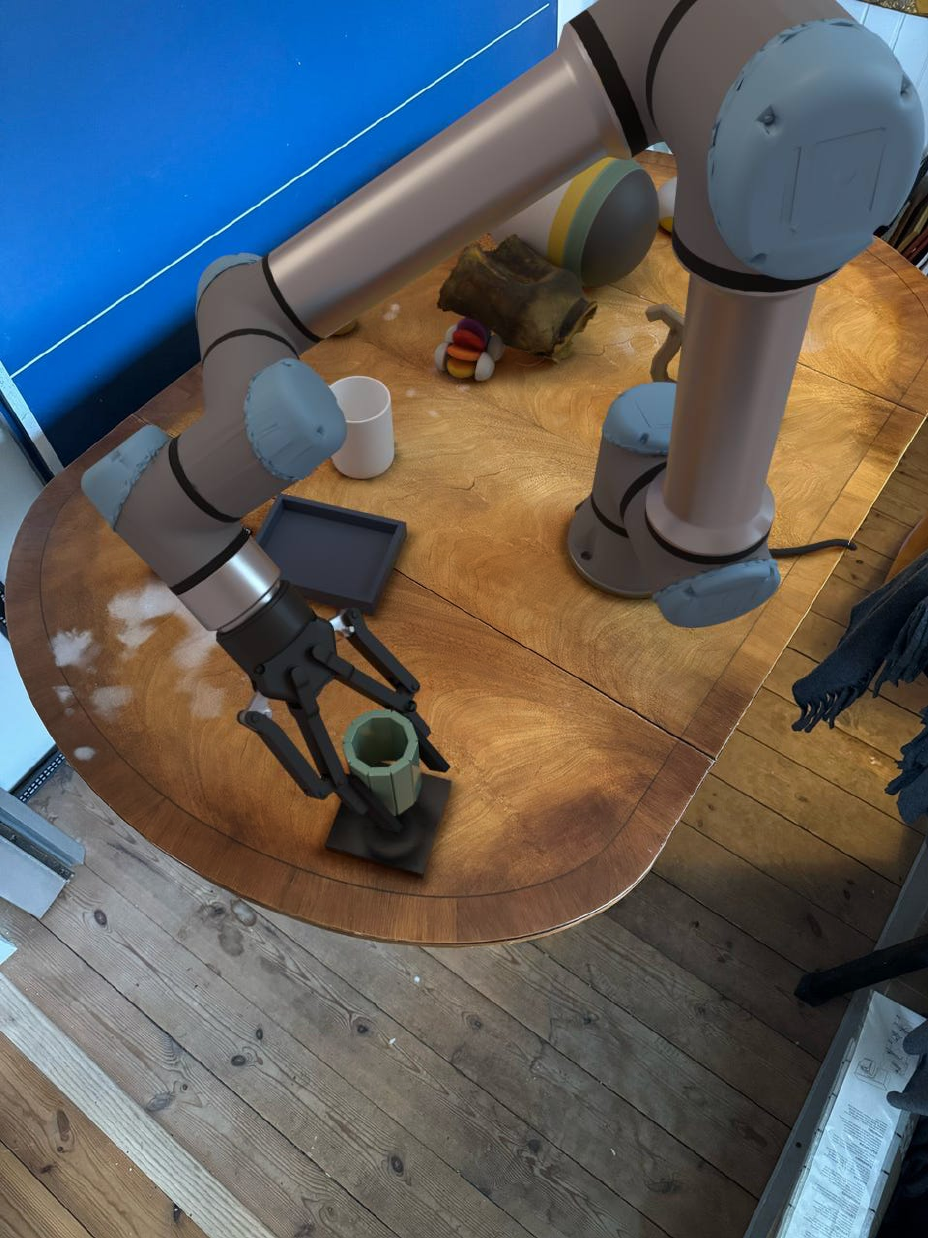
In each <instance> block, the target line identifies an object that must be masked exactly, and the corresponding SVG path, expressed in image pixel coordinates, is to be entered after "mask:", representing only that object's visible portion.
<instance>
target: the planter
mask: <svg viewBox="0 0 928 1238" xmlns="http://www.w3.org/2000/svg"><path fill="white" fill-rule="evenodd" d="M657 191H658V190H657V188H656V186H655V183H654V180H653V179H652V177H651V175H650V174H649V173H648V171H647V170H646V169H645V168H644V167H643V166H642V165H641V163H639V162H638V161H637V160H635V159H634V157H633V158H631V159H630V160H628V161H626V160H621V159H617V158H613V157H607V158H604V159H602V160H600V161H599V162H597V163H596V164H594V165H593V166H591V167H590V168H588V169H587V170H585V171H583V172H582V173H580V174H579V175H577V176H576V177H574V178H573V179H571V180H570V181H568V182H566V183H565V184H563V185H562V186H560V187H559V188H557V189H556V190H554V191H553V192H551V193H549V194H548V195H546V196H545V197H543V198H542V199H540V200H539V201H537V202H536V203H534V204H532V205H531V206H529V207H528V208H526V209H525V210H523V211H522V212H520V213H519V214H517V215H515V216H514V217H512V218H511V219H509V220H508V221H506V222H505V223H503V224H502V225H500V226H498V227H497V228H495V229H494V230H492V231H491V232H489V235H490V238H491V240H492V242H493V243H494V244H495V245H496V246H497V247H498V246H499V244H500V242H502V241H503V240H504V239H505V238H506V237H507V236H508V237H509V236H510V235H513V234H515V235H517V237H518V238H520V240H521V242H522V243H523V244H524V245H525V246H527V247H528V248H529V249H530V250H532V251H533V252H534V253H536V254H537V255H539V256H540V257H542V258H543V259H545V260H546V261H548V262H549V263H551V264H553V265H554V266H556V267H558V268H561V269H568V270H571V271H572V272H573V273H575V275H576V276H577V278H578V280H579V282H580V284H581V286H582V287H587V288H599V287H604V286H609V285H612V284H614V283H616V282H618V281H621V280H622V279H624V278H626V277H628V275H630V274H631V273H632V272H634V271H635V270H636V268H637V267H639V265H640V264H641V263H642V262H643V261H644V259H645V258H646V256H647V254H648V253H649V251H650V250H651V247H652V246H653V243H654V241H655V238H656V235H657V232H658V229H659V224H660V223H659V201H658V195H657Z"/></svg>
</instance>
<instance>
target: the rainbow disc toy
mask: <svg viewBox="0 0 928 1238" xmlns="http://www.w3.org/2000/svg"><path fill="white" fill-rule="evenodd" d="M504 349H505V345H504V344H503V343H502V340H501V337H500V336H498V335H497V334H496V333H495V332H493V333H492V331H491V330H490V329H488V328H487V327H485V326H483V325H482V324H480V323H479V322H477V321H475V320H473V319H470V318H467V317H464V318H462V319H459V321H458V323H457V324H454V325H452V326H450V327H449V328H448V329H447V330H446V333H445V335H444V342H442V343H440V344H438V346H436V349H435V351H434V355H433V360H434V363H435V365H436V367H437V368H438V369H440V370H441V371H443V372H446V371H448V372H449V374H450V375H451V376H453V377H454V378H458V379H465V378H469V377H471V376H473V375H474V379H475V381H477V382H482V381H486V380H488V379H490V378H491V376H492V375H493V373H494V369H495V362H497V361H498V360H499V359H501V357H502V356H503V354H504Z"/></svg>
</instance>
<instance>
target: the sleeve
mask: <svg viewBox="0 0 928 1238" xmlns="http://www.w3.org/2000/svg"><path fill="white" fill-rule="evenodd" d="M341 747H342V752H343V756H344V759H345V763H346V767H347V772H348V774H352V775H357V776H358V777H359V778H360V779H361V780H362V781H363V782H364V783H365V784H366V785H367V787H368V788H369V789H370V790H371V791H372V792H373V793H374V794H375V795H376V797H377V798H378V799H379V800H380V801H381V802H382V803H383V804H384V805H385V807H386V808H387V809H388V810H389V811H390V812H391V813H392V814H393V815H394V816H396V812H397V814H398V815H399V814H401V813H402V812H403V811H405V810H406V809H408V808H409V807H410V806H412V805H413V804H414V801H415V802H416V800H417V797H418V794H419V791H420V788H421V773H422V772H421V762H420V761H421V760H420V758H419V748H418V738H417V736H416V733H415V730H414V728H413V725H412V723H411V722H410V720H408V719H407V718H405V717H404V716H402V715H400V714H399V713H397V712H396V711H394V710H393V711H392V712H391V710H390V709H370V711H368V710H366V711H365V712H364V713H362V714H361V715H359V716H357V717H356V718H354V719H353V720H352V721H350V723H348V725H347V728H346V730H345V732H344V735H343V737H342V741H341ZM378 762H384V763H386V762H394V763H391V764H392V765H391V766H389V767H372V766H374V765H375V764H377V763H378Z"/></svg>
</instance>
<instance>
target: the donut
mask: <svg viewBox="0 0 928 1238" xmlns="http://www.w3.org/2000/svg"><path fill="white" fill-rule="evenodd" d="M676 185H677V175H676V176H674V177H672V178H669V179H668V180H666V181H665V182H663V183H662V184H661V185H660V186H659V187H658V189H657V190H656V191H657V195H658V201H659V223H658V224H659V225H660V226H661V227H662V228H663V229H665V230H666V231H667V232H668V233H671V234H672V226H673V214H674V204H675V195H676Z"/></svg>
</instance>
